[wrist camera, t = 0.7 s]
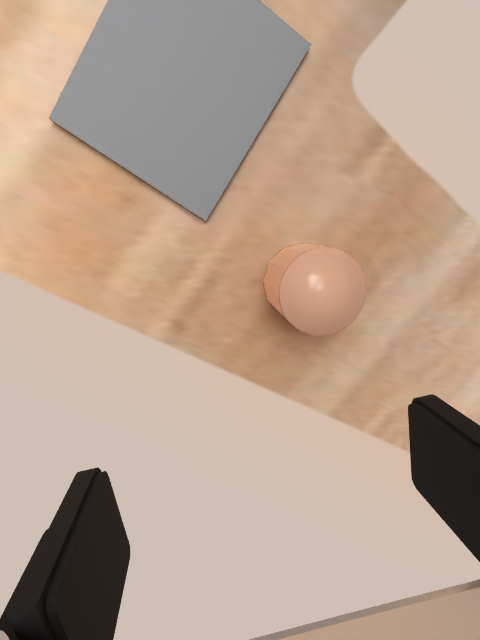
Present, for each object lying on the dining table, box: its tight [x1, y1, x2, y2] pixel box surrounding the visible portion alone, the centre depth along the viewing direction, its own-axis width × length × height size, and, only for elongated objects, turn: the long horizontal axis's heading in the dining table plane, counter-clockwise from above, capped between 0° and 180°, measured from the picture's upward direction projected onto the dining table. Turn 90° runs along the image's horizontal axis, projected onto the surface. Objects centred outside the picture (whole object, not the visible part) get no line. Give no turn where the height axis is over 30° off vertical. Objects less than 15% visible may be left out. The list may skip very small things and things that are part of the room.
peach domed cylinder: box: [263, 243, 366, 336], centre depth 30 cm, size 7×7×6 cm
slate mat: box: [49, 0, 311, 221], centre depth 28 cm, size 16×14×1 cm
